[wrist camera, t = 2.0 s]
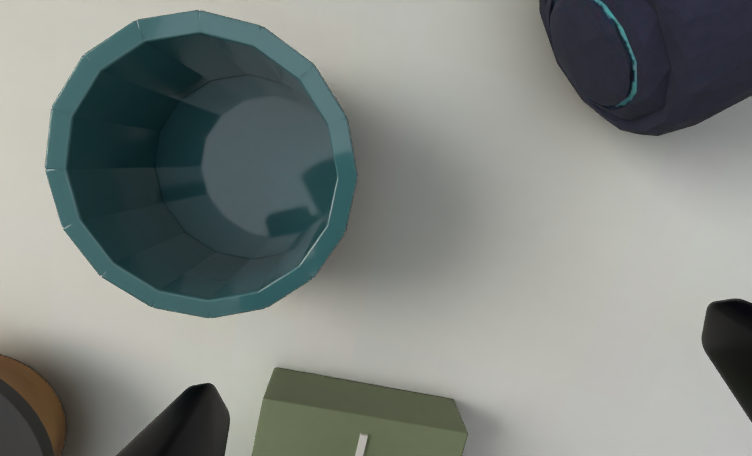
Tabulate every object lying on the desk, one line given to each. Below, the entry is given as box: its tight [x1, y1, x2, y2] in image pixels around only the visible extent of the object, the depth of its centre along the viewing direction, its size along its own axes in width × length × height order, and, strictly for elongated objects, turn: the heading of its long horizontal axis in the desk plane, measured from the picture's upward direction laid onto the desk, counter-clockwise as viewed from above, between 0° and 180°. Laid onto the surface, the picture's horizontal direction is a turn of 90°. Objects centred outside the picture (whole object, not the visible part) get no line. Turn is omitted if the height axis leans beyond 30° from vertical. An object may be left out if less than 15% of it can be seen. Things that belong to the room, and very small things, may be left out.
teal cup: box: [45, 10, 358, 318], centre depth 17 cm, size 10×10×7 cm
